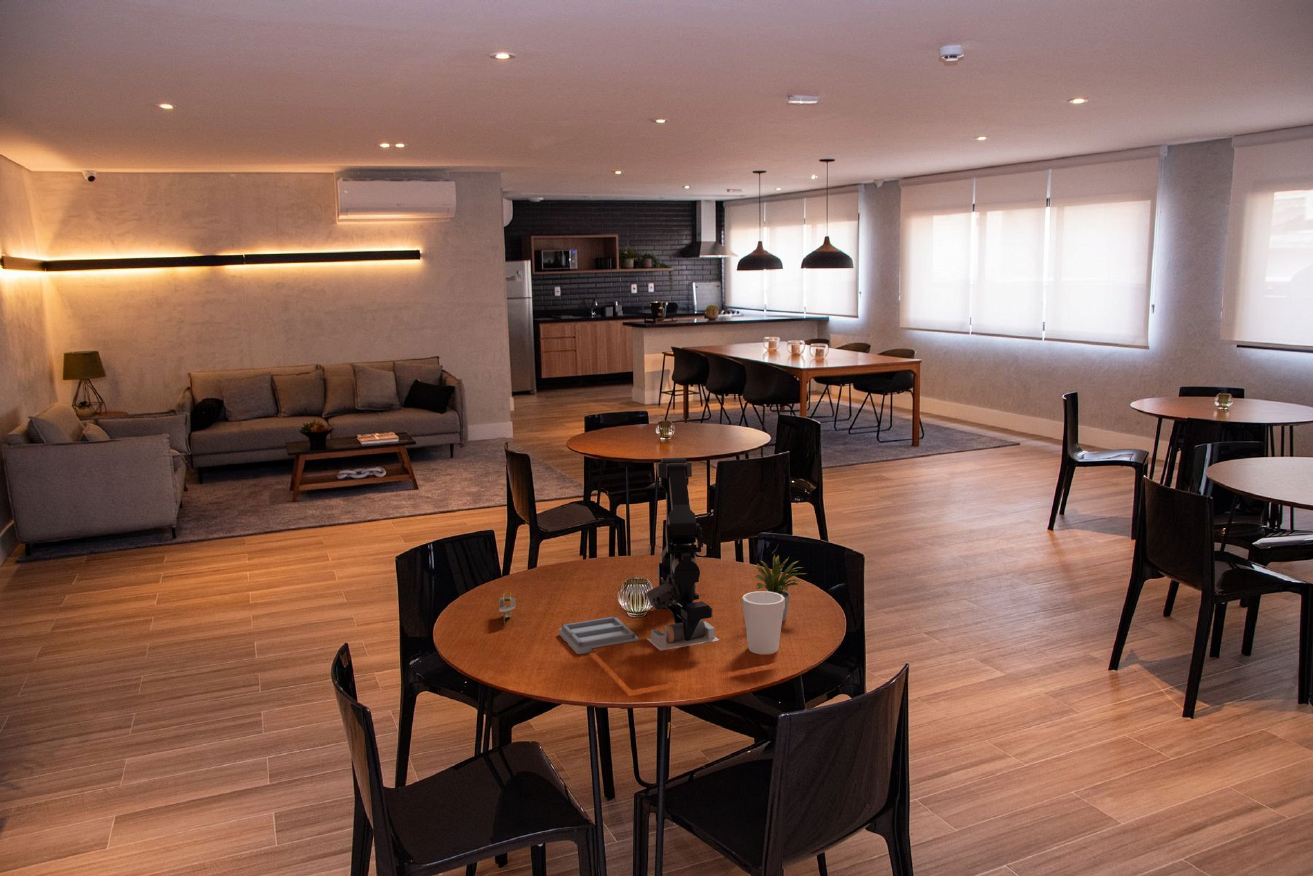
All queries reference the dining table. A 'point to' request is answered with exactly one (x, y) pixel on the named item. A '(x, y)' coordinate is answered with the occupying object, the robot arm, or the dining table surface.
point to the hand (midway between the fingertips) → (683, 637)
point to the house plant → (773, 582)
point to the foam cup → (763, 620)
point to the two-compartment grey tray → (596, 634)
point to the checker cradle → (660, 640)
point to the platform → (506, 608)
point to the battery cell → (682, 631)
